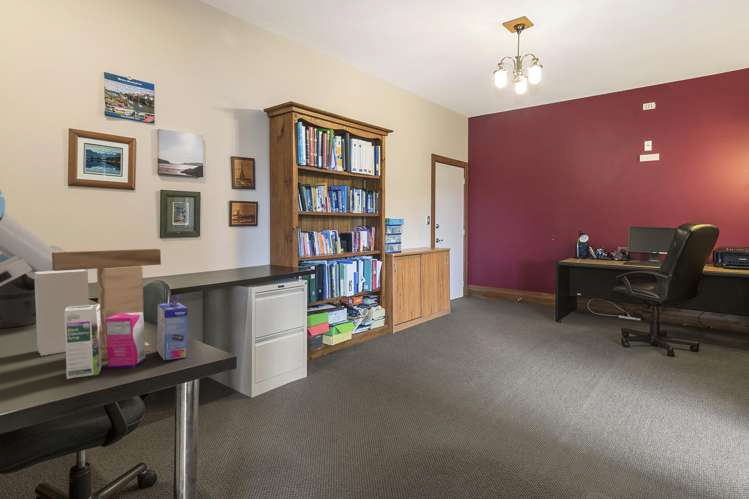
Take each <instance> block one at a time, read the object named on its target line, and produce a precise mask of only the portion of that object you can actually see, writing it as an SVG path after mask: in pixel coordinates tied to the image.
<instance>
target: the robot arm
mask: <svg viewBox="0 0 749 499" xmlns="http://www.w3.org/2000/svg"><path fill="white" fill-rule="evenodd" d="M2 194H3V192H2V189H0V329H7V328H10V329H11V328H17V327H24V326H25V327H26V326H29V325H35V324H36V302H35V279H34V272H44V271H55V270H53V266H52V252H66V251H65V250H64V249H63V248H61V247H59V246H57V245H48V244H47V243H46V242H45V241H43V240H42V239H41V238H40V237H38V236H37V235H35V234H34V233H32V231H30V230H29V229H28V228H26V227H25V226H23V225H22V224H21V223H19V222H18V221H17V220H15V219H14V218H13V217H11V216H10V215H9V214H7V213H6V199H5V197H4V196H2ZM84 270H86V271H88V270H89V269H84Z"/></svg>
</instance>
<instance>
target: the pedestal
mask: <svg viewBox="0 0 749 499" xmlns="http://www.w3.org/2000/svg"><path fill="white" fill-rule="evenodd" d="M88 273H89V272H88V271H86V270H84V269H80V270H64V271H44V272H34V279H35V302H36V342H37V343H36V344H37V345H36V346H37V347H36V348H37V352H38V354H39V353H40V354H39V356H41V357H43V355H44V356H49V354H50V355H55V354H60V353H66V344H65V326H64V311H65V309H66V308H67V307H70V306H85V305H90V303H89V302H90V298H89V276H88V275H89V274H88Z"/></svg>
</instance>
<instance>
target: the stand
mask: <svg viewBox="0 0 749 499" xmlns="http://www.w3.org/2000/svg"><path fill="white" fill-rule="evenodd" d="M143 278H144V277H143V266H130V267H113V268H97V269H96V282H97V283H96V284H97V287H96V288H97V304H100V324H101V352H102V360H103V361H105V360H108V356H107V339H106V323H105V319H106V318H109V317H111V316H113V315H116V314H118V313H138V312H143V320H144V319H145V318H144V315H145V314H144V284H143V282H144V281H143V280H144V279H143ZM144 321H145V320H144ZM150 351H151V344H150V343H148V342H147V341H145V353H146V352H150Z"/></svg>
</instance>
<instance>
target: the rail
mask: <svg viewBox="0 0 749 499" xmlns="http://www.w3.org/2000/svg"><path fill="white" fill-rule="evenodd" d="M161 255H162V254H161V249H160V248H144V249H143V248H139V249H138V248H137V249H115V250H114V249H113V250H112V249H111V250H107V249H106V250H81V251H80V250H79V251H65V252H52V266H53V270H55V271H64V270H80V269H88V270H97V268H113V267H130V266H142V267H144V266H158V265H159V266H161V265H162V258H161V257H162V256H161Z"/></svg>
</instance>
